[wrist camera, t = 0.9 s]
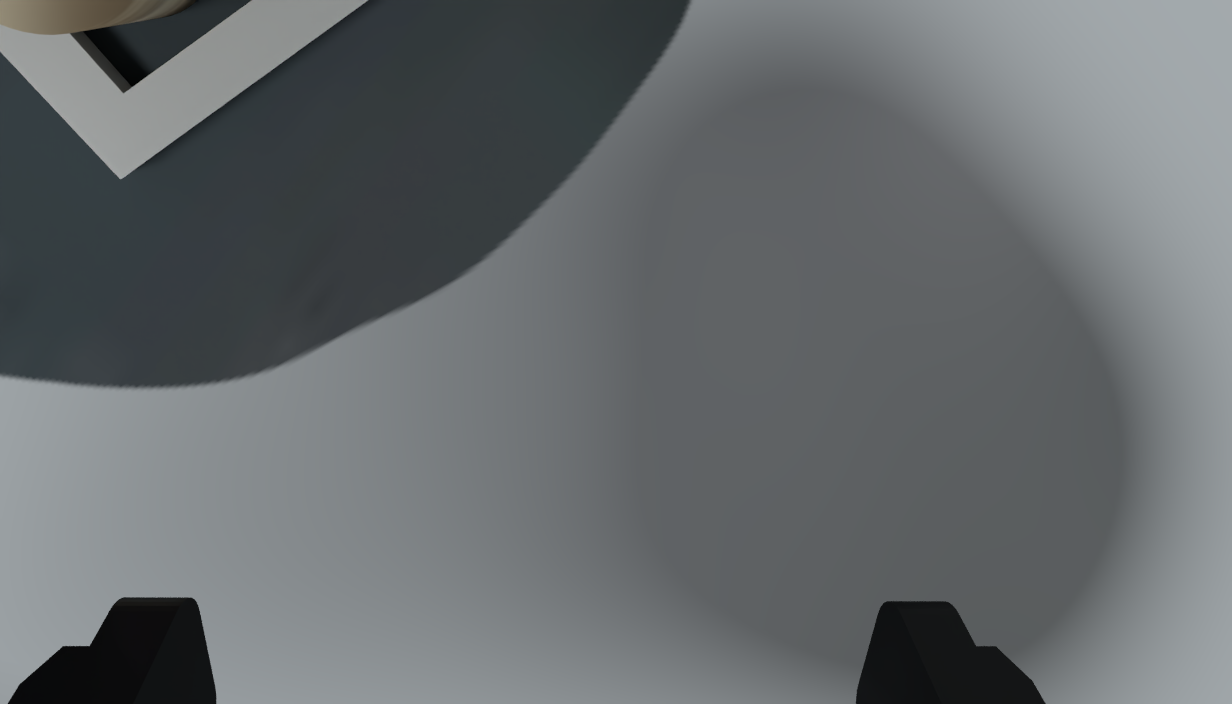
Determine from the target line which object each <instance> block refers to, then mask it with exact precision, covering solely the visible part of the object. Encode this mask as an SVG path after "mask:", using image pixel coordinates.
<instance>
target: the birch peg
mask: <svg viewBox="0 0 1232 704" xmlns="http://www.w3.org/2000/svg"><path fill="white" fill-rule="evenodd" d="M195 1H196V0H0V24H1V25H3V26H6V27H8V28H11V29H15V30H19V31H22V32H27V33H33V34H43V35H58V34H69V33H75V32H80V31H86V30H92V29H98V28H104V27H110V26H116V25H121V24H127V23H133V22H139V21H145V20H151V19H156V18H162V17H167V16H171V15H174V14H177V13H179V12H181V11H183V10H185V9H187V8H188V7H189V6H191V5H192V4H193V3H195Z"/></svg>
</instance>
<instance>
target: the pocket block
mask: <svg viewBox="0 0 1232 704" xmlns="http://www.w3.org/2000/svg"><path fill="white" fill-rule="evenodd" d="M366 1H368V0H252V1H250V2H249V3H248V4H246V5H245V6H243V7H242V8H241V9H239V10H238V11H237V12H235V13H234V14H232V15H231V16H230V17H228V18H227V19H226V20H224V21H223V22H221V23H220V24H219V25H217V26H216V27H215V28H213V29H212V30H210V31H209V32H208V33H206V34H205V35H204V36H202V37H201V38H199V39H198V40H197V41H195V42H194V43H192V44H191V45H190V46H188V47H187V48H186V49H184V50H183V51H181V52H180V53H179V54H177V55H176V56H175V57H173V58H172V59H170V60H169V61H168V62H166V63H165V64H164V65H162V66H161V67H159V68H158V69H157V70H155V71H154V72H153V73H151V74H150V75H148V76H147V77H146V78H144V79H143V80H141V81H140V82H139V83H137V84H136V85H135V86H133V87H132V86H131V85H130V84H129V83H128V82H127V81H126V80H125V78H124V77H123V76H122V75H121V74H120V73H119V72H118V71H117V69H116V68H115V67H114V66H113V65H112V64H111V63H110V62H109V60H108V59H107V58H106V57H105V56H104V55H103V54H102V53H101V51H100V50H99V49H98V48H97V47H96V46H95V45H94V43H93V42H92V41H91V40H90V39H89V38H88V37H87V36H86V34H85V33H84V32H83V31H80V32H75V33H69V34H58V35H43V34H33V33H27V32H22V31H19V30H15V29H11V28H8V27H6V26H3V25H1V24H0V52H1V53H2V54H3V55H4V56H5V57H6V58H7V59H8V60H9V61H10V62H11V63H12V65H13V66H14V67H15V68H16V69H17V70H18V71H19V72H20V73H21V74H22V75H23V76H24V77H25V78H26V79H27V81H28V82H29V83H30V84H31V85H32V86H33V87H34V88H35V89H36V90H37V91H38V92H39V93H40V94H41V95H42V96H43V98H44V99H45V100H46V101H47V102H48V103H49V104H50V105H51V106H52V107H53V108H54V109H55V110H56V111H57V112H58V113H59V115H60V116H61V117H62V118H63V119H64V120H65V121H66V122H67V123H68V124H69V125H70V126H71V127H72V128H73V129H74V131H75V132H76V133H77V134H78V135H79V136H80V137H81V138H82V139H83V140H84V141H85V142H86V143H87V144H88V145H89V146H90V148H91V149H92V150H93V151H94V152H95V153H96V154H97V155H98V156H99V157H100V158H101V159H102V160H103V161H104V162H105V163H106V165H107V166H108V167H109V168H110V169H111V170H112V171H113V172H114V173H115V174H116V175H117V176H118V177H119V178H120V179H122V178H123V177H125V176H126V175H128V174H129V173H130V172H132V171H133V170H134V169H136V168H137V167H139V166H140V165H141V164H143V163H144V162H145V161H147V160H148V159H150V158H151V157H152V156H154V155H155V154H157V153H158V152H159V151H161V150H162V149H163V148H165V147H166V146H168V145H169V144H170V143H172V142H173V141H174V140H176V139H177V138H179V137H180V136H181V135H183V134H184V133H186V132H187V131H188V130H190V129H191V128H192V127H194V126H195V125H197V124H198V123H199V122H201V121H202V120H203V119H205V118H206V117H208V116H209V115H210V114H212V113H213V112H215V111H216V110H217V109H219V108H220V107H221V106H223V105H224V104H226V103H227V102H228V101H230V100H231V99H232V98H234V97H235V96H237V95H238V94H239V93H241V92H242V91H243V90H245V89H246V88H248V87H249V86H250V85H252V84H253V83H255V82H256V81H257V80H259V79H260V78H261V77H263V76H264V75H266V74H267V73H268V72H270V71H271V70H272V69H274V68H275V67H277V66H278V65H279V64H281V63H282V62H284V61H285V60H286V59H288V58H289V57H290V56H292V55H293V54H295V53H296V52H297V51H299V50H300V49H301V48H303V47H304V46H306V45H307V44H308V43H310V42H311V41H313V40H314V39H315V38H317V37H318V36H319V35H321V34H322V33H324V32H325V31H326V30H328V29H329V28H330V27H332V26H333V25H335V24H336V23H337V22H339V21H340V20H342V19H343V18H344V17H346V16H347V15H348V14H350V13H351V12H353V11H354V10H355V9H357V8H358V7H359V6H361V5H362V4H364V3H365V2H366Z"/></svg>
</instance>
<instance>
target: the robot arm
mask: <svg viewBox="0 0 1232 704" xmlns="http://www.w3.org/2000/svg"><path fill="white" fill-rule="evenodd" d="M8 704H216V690H215V684H214V679H213V674H212V669H211V665H210V659H209V654H208V650H207V645H206V640H205V635H204V630H203V626H202V620H201V615H200V611H199V607H198V605H197V602H196V601H195V600H194V599H193V598H126V597H124V598H121V599H119V600H118V601H117V602H116V603H115V604H114V605H113V606H112V608H111V610H110V611H109V613H108V615H107V617H106V619H105V620H104V622H103V624H102V625H101V627H100V629H99V631H98V633H97V634H96V636H95V638H94V640H93V641H92V643H91V645H90V646H63V647H62V648H61V649H60V650H58V651H57V652H56V653H55V654H54V655H53V656H52V657H50V658H49V660H47V661H46V662H45V663H44V664H42V665H41V666H40V667H39V668H38V669H37V670H36V671H35V672H33V673H32V674H31V675H30V676H29V677H28V678H27V679H26V680H24V681H23V682H22V683H21V684H20V685H19V686H18V688H17V690H16V691H15V693H14V695H13V696H12V698H11V699H10V701H9V703H8ZM856 704H1045V702H1044V701H1043V699H1042V697H1041V695H1040V693H1039V692H1038V690H1037V688H1036V686H1035V685H1034V683H1033V681H1032V680H1031V679H1029V677H1028V676H1026V675H1025V674H1024V673H1023V672H1022V671H1021V670H1020V669H1019V668H1018V667H1017V666H1016V665H1015V664H1014V663H1013V662H1012V661H1011V660H1010V659H1008V658H1007V657H1006V656H1005V655H1004V654H1003V653H1002V652H1001V651H1000V650H999V649H998V648H997V647H995V646H990V647H988V646H979V647H978V646H976V645H975V644H974V642H973V640H972V638H971V636H970V634H969V632H968V630H967V628H966V627H965V625H964V623H963V621H962V619H961V617H960V615H959V613H958V612H957V610H956V609H955V608H954V607H953V605H951V604H950V603H949V602H943V601H942V602H941V601H937V602H936V601H931V602H930V601H929V602H926V601H924V602H923V601H919V602H918V601H917V602H915V601H911V602H910V601H908V602H907V601H887V602H885V603H883V605H882V606H881V608H880V610H879V613H878V616H877V619H876V623H875V627H874V630H873V634H872V637H871V641H870V645H869V649H868V652H867V655H866V659H865V663H864V666H863V670H862V673H861V677H860V681H859V684H858V689H857V696H856Z"/></svg>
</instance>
